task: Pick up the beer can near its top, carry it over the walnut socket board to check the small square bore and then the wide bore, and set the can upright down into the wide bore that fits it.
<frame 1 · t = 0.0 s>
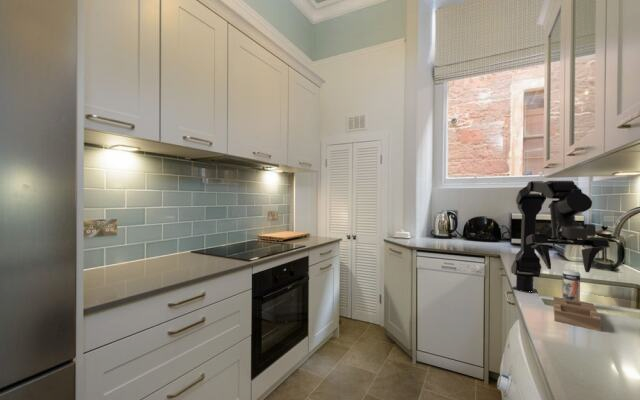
hand: (568, 270, 84), 15 cm above the countertop, tool pointing down, fingers open, 9 cm apart
beer can: (570, 305, 100), on the countertop
socket board: (574, 316, 89), on the countertop
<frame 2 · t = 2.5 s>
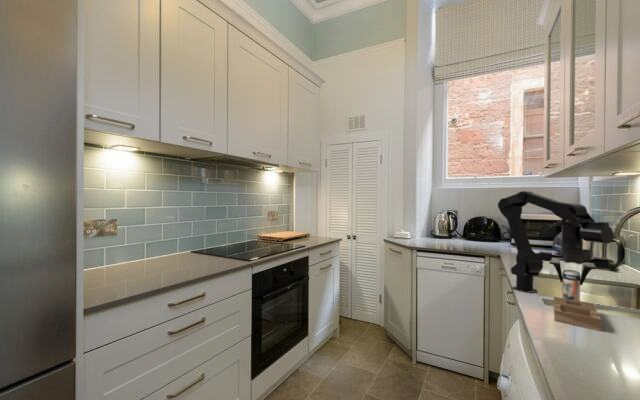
hand: (571, 283, 100), 8 cm above the countertop, tool pointing down, fingers closed on beer can, 5 cm apart
beer can: (570, 305, 100), on the countertop, touching gripper
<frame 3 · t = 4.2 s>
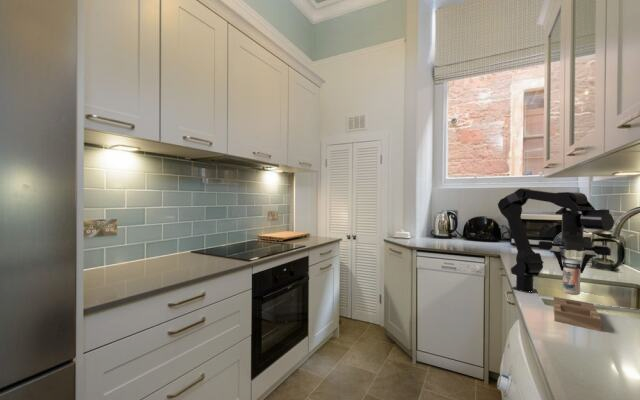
hand: (571, 271, 100), 12 cm above the countertop, tool pointing down, fingers closed on beer can, 5 cm apart
beer can: (571, 294, 100), point 4 cm above the countertop, touching gripper
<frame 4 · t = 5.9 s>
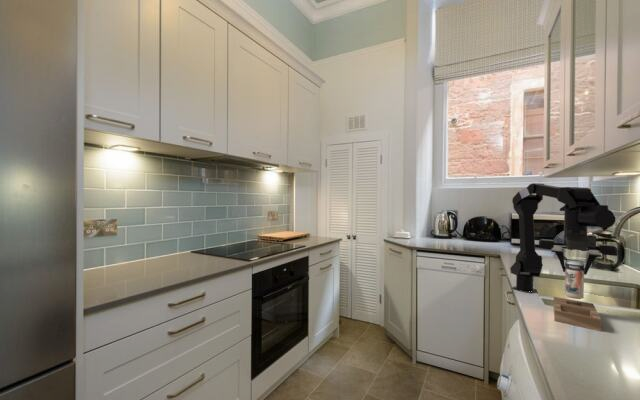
hand: (574, 273, 93), 13 cm above the countertop, tool pointing down, fingers closed on beer can, 5 cm apart
beer can: (573, 297, 93), point 5 cm above the countertop, touching gripper
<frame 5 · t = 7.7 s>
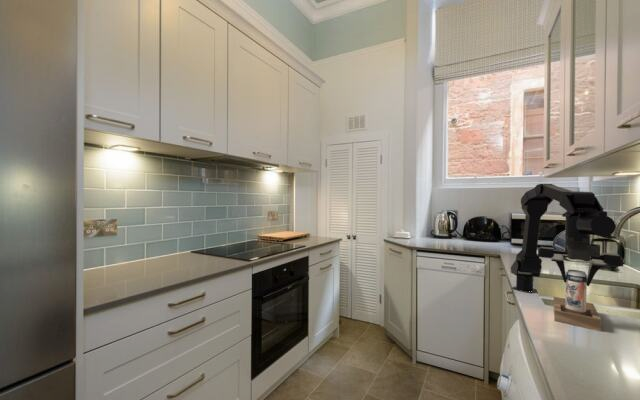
hand: (576, 284, 86), 11 cm above the countertop, tool pointing down, fingers closed on beer can, 5 cm apart
beer can: (575, 311, 86), point 3 cm above the countertop, touching gripper
when the fingers open (8 cm above the countertop, at t = 9.0 s): beer can stays where it is, resting in socket board.
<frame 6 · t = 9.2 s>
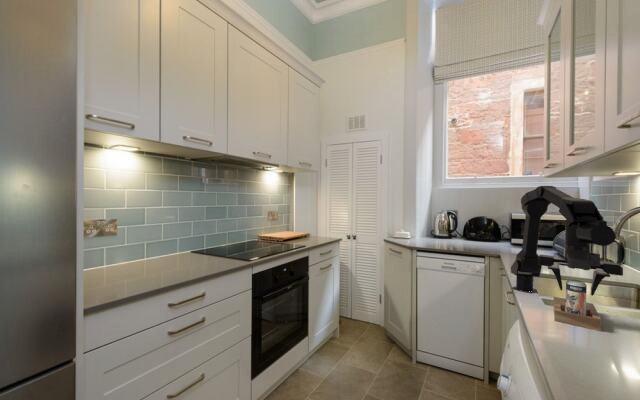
hand: (576, 292, 86), 8 cm above the countertop, tool pointing down, fingers open, 7 cm apart
beer can: (575, 321, 86), resting in socket board
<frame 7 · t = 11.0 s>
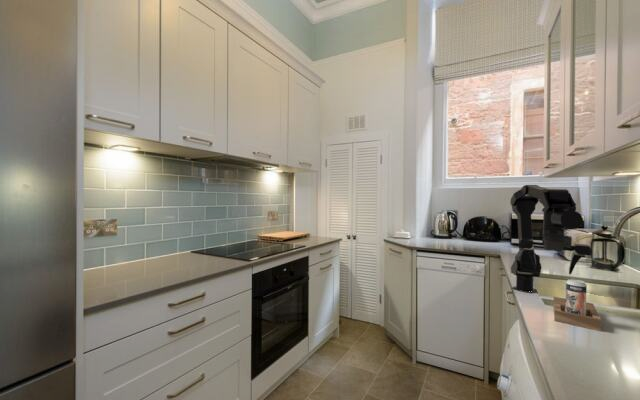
hand: (551, 271, 97), 12 cm above the countertop, tool pointing down, fingers open, 9 cm apart
nothing on the countertop moved.
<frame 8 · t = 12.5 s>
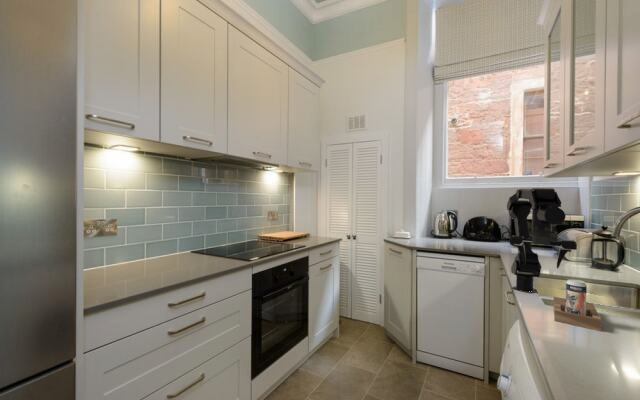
hand: (540, 266, 102), 13 cm above the countertop, tool pointing down, fingers open, 9 cm apart
nothing on the countertop moved.
at the end: beer can 0.1 cm from the target spot, resting in socket board; beer can tilted 0°; the gripper is holding nothing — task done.
